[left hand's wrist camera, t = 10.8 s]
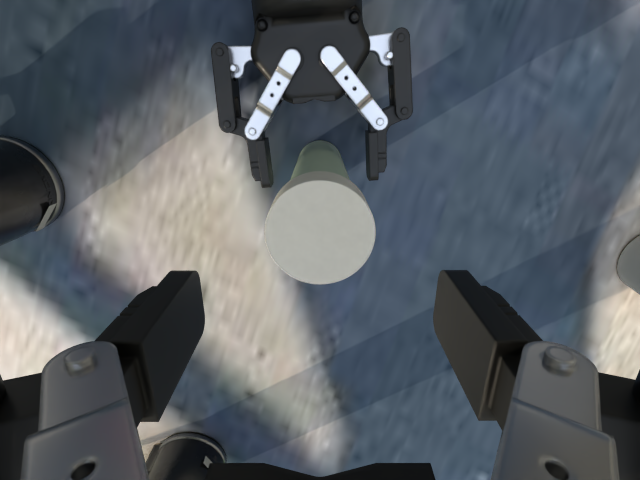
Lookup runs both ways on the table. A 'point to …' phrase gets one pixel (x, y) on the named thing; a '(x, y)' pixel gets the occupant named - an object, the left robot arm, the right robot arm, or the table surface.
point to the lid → (320, 228)
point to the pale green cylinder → (319, 159)
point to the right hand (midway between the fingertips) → (320, 182)
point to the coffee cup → (630, 265)
